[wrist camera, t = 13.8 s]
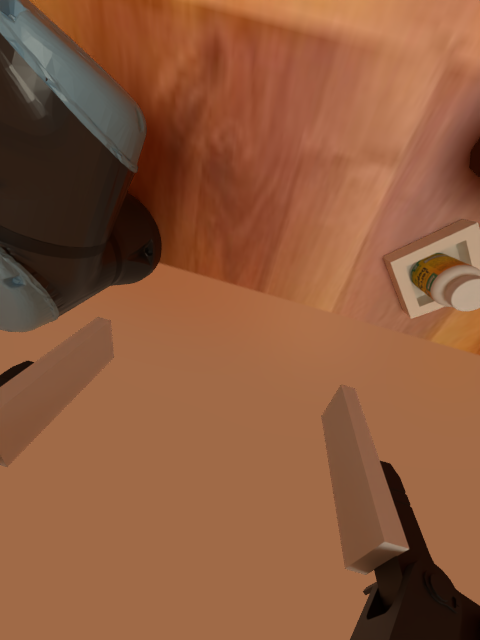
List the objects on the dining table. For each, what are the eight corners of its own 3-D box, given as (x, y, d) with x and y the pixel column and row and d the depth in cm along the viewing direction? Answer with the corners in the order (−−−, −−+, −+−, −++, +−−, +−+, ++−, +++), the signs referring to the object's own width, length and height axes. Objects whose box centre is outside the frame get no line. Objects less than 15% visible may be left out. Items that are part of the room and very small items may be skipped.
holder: (382, 256, 36) (390, 262, 33) (462, 219, 32) (478, 222, 29) (402, 309, 39) (411, 318, 37) (476, 281, 35) (492, 289, 33)
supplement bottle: (450, 281, 36) (499, 311, 27) (409, 291, 37) (443, 321, 29) (451, 246, 33) (505, 267, 25) (407, 257, 35) (444, 280, 27)
